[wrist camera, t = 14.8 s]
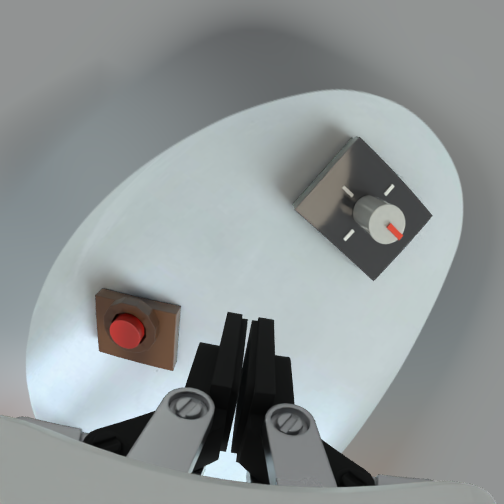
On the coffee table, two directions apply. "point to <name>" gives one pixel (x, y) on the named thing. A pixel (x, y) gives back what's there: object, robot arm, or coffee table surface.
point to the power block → (155, 325)
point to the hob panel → (345, 197)
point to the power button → (127, 331)
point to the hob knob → (379, 219)
